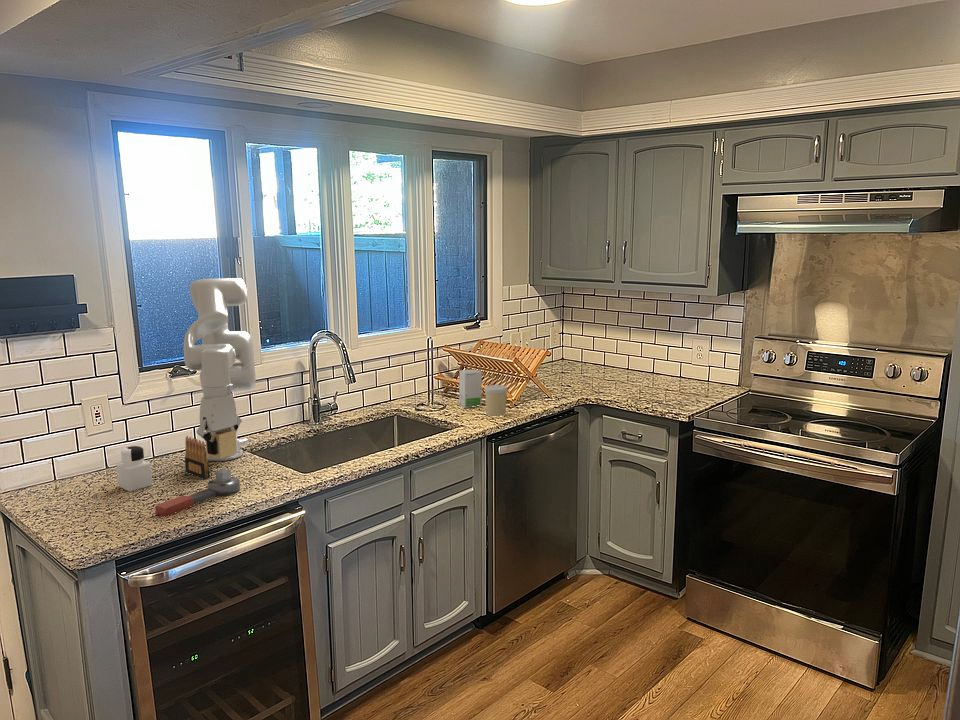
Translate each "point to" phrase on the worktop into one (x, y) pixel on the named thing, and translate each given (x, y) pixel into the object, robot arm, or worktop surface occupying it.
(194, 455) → the ammunition clip
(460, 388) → the skincare box
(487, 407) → the coffee cup
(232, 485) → the ratchet
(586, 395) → the worktop surface
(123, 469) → the medicine bottle
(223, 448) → the wooden block
